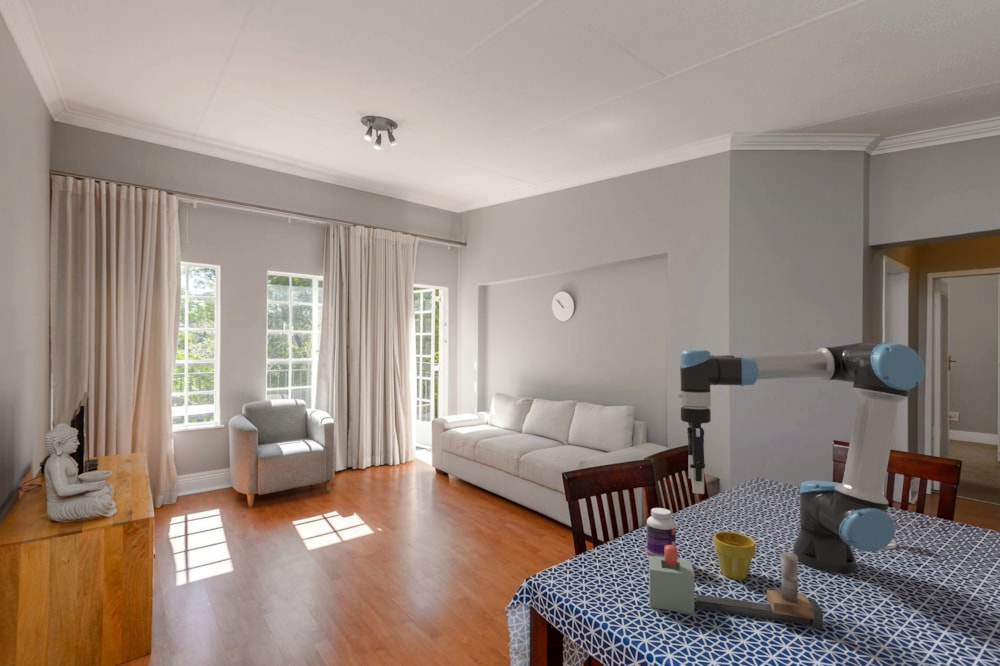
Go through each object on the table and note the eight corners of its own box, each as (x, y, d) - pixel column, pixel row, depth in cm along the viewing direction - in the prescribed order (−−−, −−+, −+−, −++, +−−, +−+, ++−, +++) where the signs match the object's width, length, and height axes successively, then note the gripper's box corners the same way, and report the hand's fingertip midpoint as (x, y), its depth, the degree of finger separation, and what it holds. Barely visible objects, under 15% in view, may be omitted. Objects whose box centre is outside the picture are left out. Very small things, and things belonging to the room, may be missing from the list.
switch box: (690, 596, 121) (690, 560, 121) (694, 613, 114) (694, 575, 114) (648, 590, 124) (649, 555, 124) (649, 607, 116) (650, 569, 116)
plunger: (676, 561, 120) (676, 545, 120) (677, 567, 117) (677, 550, 117) (664, 560, 121) (664, 544, 121) (664, 565, 118) (664, 549, 118)
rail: (814, 617, 113) (814, 599, 113) (823, 629, 108) (823, 611, 108) (695, 600, 120) (695, 584, 120) (698, 611, 115) (698, 594, 115)
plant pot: (758, 586, 127) (758, 549, 127) (715, 579, 130) (715, 542, 130) (752, 569, 136) (752, 534, 136) (712, 562, 140) (712, 528, 140)
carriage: (804, 604, 114) (804, 551, 114) (813, 618, 108) (813, 563, 108) (766, 599, 116) (766, 547, 116) (773, 613, 110) (773, 558, 110)
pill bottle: (677, 568, 136) (677, 517, 137) (648, 565, 138) (648, 514, 138) (673, 555, 144) (673, 507, 144) (645, 553, 146) (645, 505, 146)
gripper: (678, 400, 144) (678, 472, 144) (683, 412, 120) (684, 498, 120) (705, 401, 142) (705, 474, 142) (716, 414, 118) (717, 501, 118)
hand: (695, 485), depth 131 cm, fingers open, 13 cm apart
